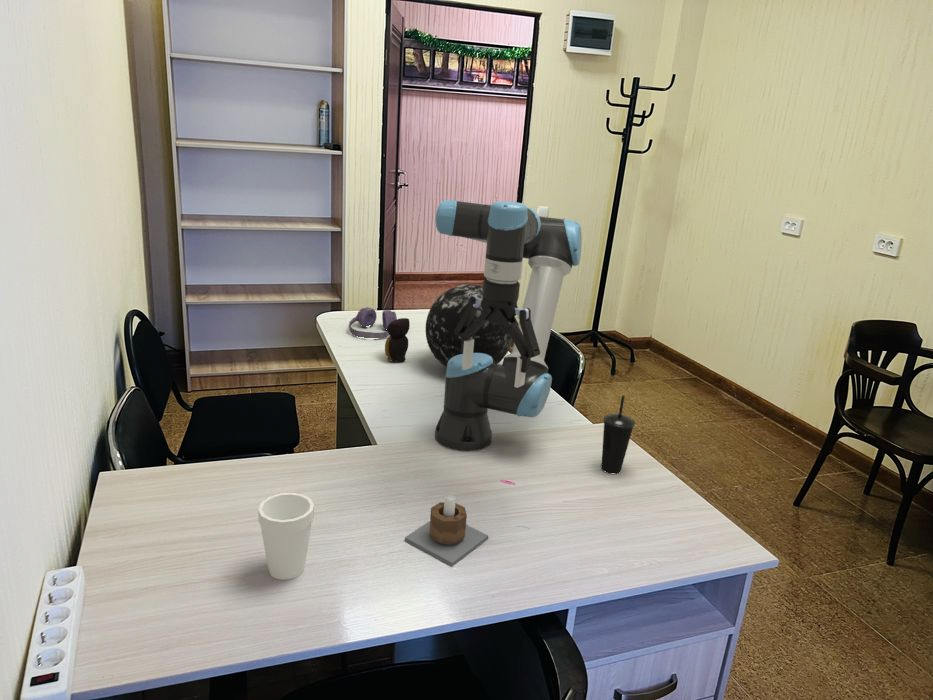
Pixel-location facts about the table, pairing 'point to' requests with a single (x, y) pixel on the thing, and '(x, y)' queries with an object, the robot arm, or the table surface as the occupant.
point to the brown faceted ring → (447, 524)
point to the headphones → (371, 322)
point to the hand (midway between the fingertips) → (492, 377)
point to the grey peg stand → (447, 551)
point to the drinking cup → (616, 440)
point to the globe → (447, 318)
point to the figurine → (397, 340)
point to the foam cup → (286, 533)
